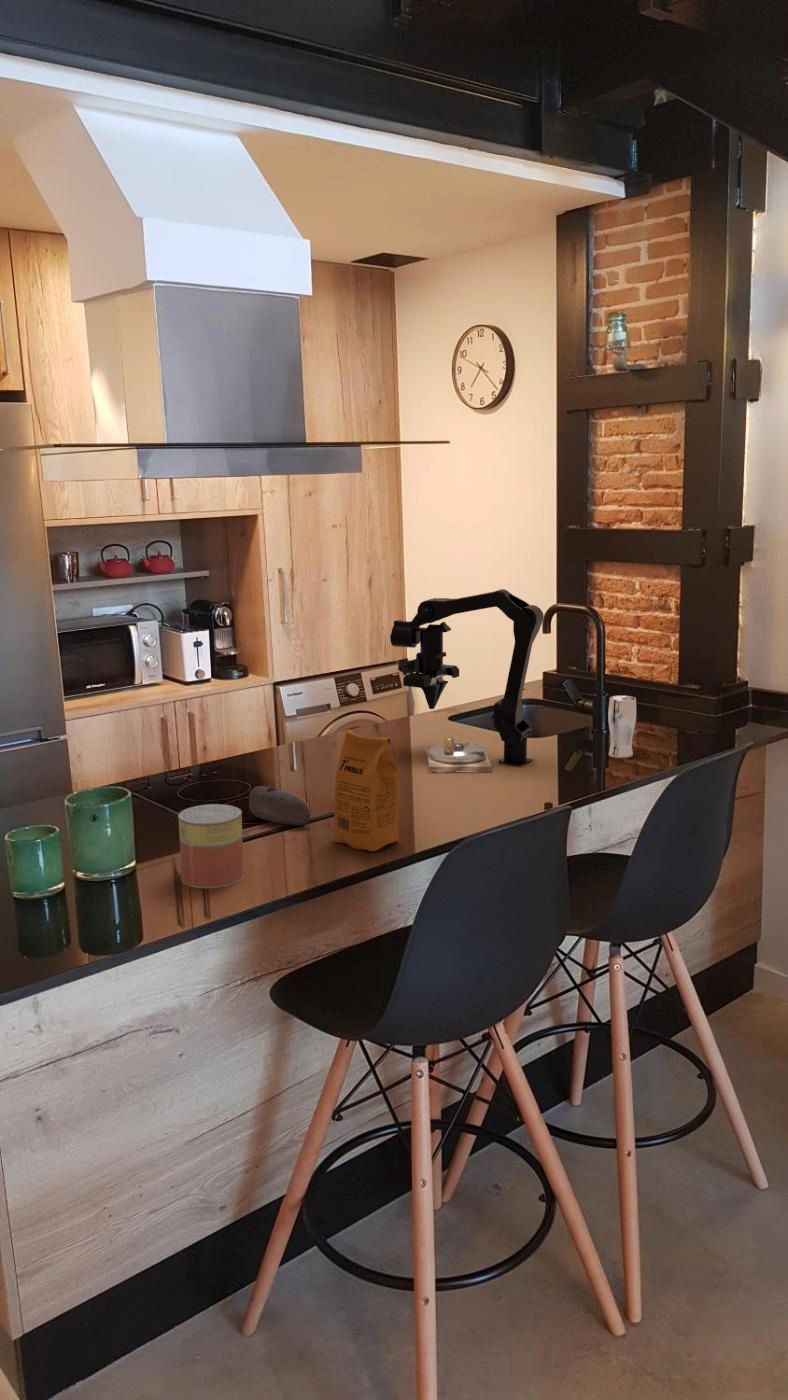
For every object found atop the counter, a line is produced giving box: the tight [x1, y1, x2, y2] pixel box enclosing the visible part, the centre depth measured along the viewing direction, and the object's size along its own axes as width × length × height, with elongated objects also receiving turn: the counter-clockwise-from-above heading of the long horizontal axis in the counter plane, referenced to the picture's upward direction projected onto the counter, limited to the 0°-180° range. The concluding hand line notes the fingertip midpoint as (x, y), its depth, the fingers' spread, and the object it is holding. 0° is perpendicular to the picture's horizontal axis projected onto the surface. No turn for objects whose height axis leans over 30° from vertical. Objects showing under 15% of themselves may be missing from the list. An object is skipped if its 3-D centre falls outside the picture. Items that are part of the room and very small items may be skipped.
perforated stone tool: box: [248, 785, 311, 827], centre depth 225 cm, size 15×5×7 cm, turn 54°
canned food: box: [177, 803, 245, 889], centre depth 194 cm, size 11×11×12 cm
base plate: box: [425, 748, 492, 773], centre depth 270 cm, size 15×18×2 cm
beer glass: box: [607, 695, 637, 759], centre depth 275 cm, size 7×7×15 cm
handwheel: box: [429, 736, 487, 763], centre depth 269 cm, size 14×14×6 cm
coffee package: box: [333, 729, 400, 852], centre depth 211 cm, size 10×12×22 cm
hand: (431, 708), depth 277 cm, fingers closed
